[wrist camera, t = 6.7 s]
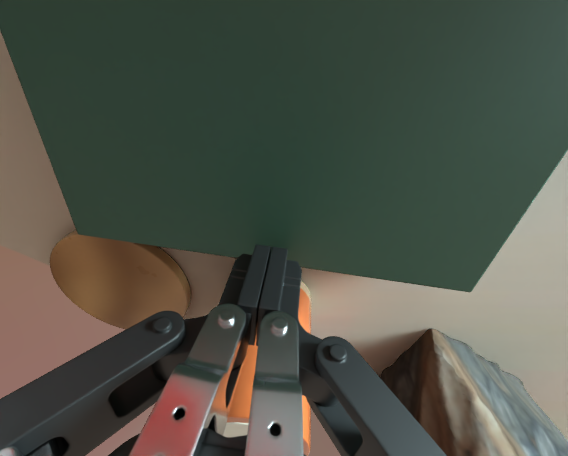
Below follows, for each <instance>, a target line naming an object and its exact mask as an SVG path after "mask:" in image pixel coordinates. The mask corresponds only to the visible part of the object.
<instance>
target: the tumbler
mask: <svg viewBox="0 0 568 456" xmlns="http://www.w3.org/2000/svg"><path fill="white" fill-rule="evenodd" d="M298 318H299V322H300V324H301V326H302V327H303V328H304V329H305V330H306V331H307V332H308V333H309V334H311V294H310V292H309V289H308V288H307V286H306V285H305V284H304V283H303V282H302V281H301V285H300V298H299V311H298ZM256 337H257V335H256ZM257 349H258V346H256V339H255V344H254V345H248V349H247V353H246V357H245V359H244V365H243V368H242V371H241V374H240V378H239V381H238V384H237V387H236V390H235V394H234V397H233V400H232V403H231V406H230V409H229V413H228V417H227V423H226V428H225V432H224V436H225V437H237V436H244V435H247V432H248V423H249V415H250V406H251V397H252V389H253V381H254V375H255V367H256V358H257ZM302 408H303V452H304V454H305V455H306V456H308V454H309V452H310V415H311V413H310V412H311V411H310V410H311V407H310V405H309V403H308V402H307V399H306V397H305V396H303V395H302Z"/></svg>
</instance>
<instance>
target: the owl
mask: <svg viewBox="0 0 568 456" xmlns="http://www.w3.org/2000/svg"><path fill="white" fill-rule="evenodd" d="M380 379H381V380H382V381H383V382H384V383H385V384H386V386H387V387H388V388H389V389H390V390H391V391H392V392H393V394H394V395H395V396H396V397H397V398H398V399H399V401H400V402H401V403H402V404H403V405H404V406H405V408H406V409H407V410H408V411H409V412H410V413H411V415H412V416H413V417H414V418H415V419H416V420H417V422H418V423H419V424H420V425H421V426H422V427H423V428H424V430H425V431H426V432H427V433H428V434H429V435H430V437H431V438H432V439H433V440H434V441H435V442H436V444H437V445H438V446H439V447H440V448H441V449H442V451H443V452H444V453H445V454H446V455H447V456H568V441H567V439H566V438H565V437H564V436H563V434H562V433H561V432H560V430H559V429H558V428H557V427H556V426H555V424H554V423H553V422H552V421H551V420H550V419H549V418H548V416H547V415H546V414H545V413H544V412H543V411H542V410H541V408H540V407H539V406H538V405H537V404H536V403H535V402H534V401H533V399H532V398H531V397H530V395H529V394H528V393H527V391H526V390H525V389H524V387H523V383H522V382H521V381H520V380H519V379H518V378H516V377H515V376H513V375H511V374H508V373H505V372H503V371H501V370H500V368H499V366H498V365H497V364H495V363H492V362H488V361H486V360H485V359H484V358H483V357H481V356H478V355H476V354H474V352H473V351H472V349H471V347H469V346H468V345H466V344H465V343H463V342H460V341H458V340H454V339H451V338H449V337H448V336H446V335H444V334H443V333H440V332H439V331H437V330H435V329H428V330H427V331H426V332H425V334H424V335H423V336H422V337H421V338H420V339H419V340H417V341H416V343H415V344H414V345H413V346H412V347H411V348H410V349H409V350H407V351H406V352H404V353H403V354H402V355H401V356H400V357H399V358H398V360H397V361H396V362H395V364H393V365H392V366H391V367H388V368H386V369H385V370H384V371H383V372H382V374H381V377H380Z"/></svg>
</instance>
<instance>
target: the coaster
mask: <svg viewBox="0 0 568 456" xmlns="http://www.w3.org/2000/svg"><path fill="white" fill-rule="evenodd" d="M50 268H51V271H52V274H53V277H54V279H55V281H56V283H57V284H58V286H59V287H60V289H61V290H62V291H63V292H64V294H65V295H66V296H67V297H68V298H69V299H70V300H71V301H72V302H73V303H75V304H76V305H77V306H78V307H79V308H81V309H82V310H84V311H85V312H87V313H88V314H90V315H92V316H93V317H96V318H97V319H99V320H101V321H103V322H106V323H108V324H110V325H113V326H116V327H119V328H123V329H128V328H130V327H132V326H133V325H135V324H137V323H139V322H141V321H142V320H144V319H146V318H148V317H150V316H152V315H153V314H155V313H158V312H161V311H175V312H177V313H179V314H180V315H181V316H182V317H183V316H184V315H185V313H186V311H187V309H188V307H189V304H190V299H191V293H190V287H189V284H188V281H187V278H186V277H185V275H184V273H183V271H182V270H181V269H180V267H179V266H178V265H177V264H176V262H175V261H174V260H173V259H172V258H171V257H170V256H169V255H167V254H166V253H165V252H164V251H163V250H161V249H160V248H159V247H157V246H152V245H146V244H139V243H132V242H125V241H118V240H112V239H105V238H98V237H91V236H84V235H79V234H78V233H77V230H75V231H73V232H71V233H69V234H68V235H67V236H65V237H64V238H63V239H62V240H60V241H59V242H58V243H57V244H56V245H55V247H54V248H53V250H52V253H51V256H50Z"/></svg>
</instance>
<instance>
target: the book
mask: <svg viewBox="0 0 568 456" xmlns="http://www.w3.org/2000/svg"><path fill="white" fill-rule="evenodd" d="M0 31H1V33H2V36H3V38H4V41H5V44H6V46H7V49H8V52H9V54H10V57H11V59H12V62H13V65H14V67H15V70H16V73H17V75H18V78H19V81H20V83H21V86H22V88H23V91H24V94H25V96H26V99H27V102H28V104H29V107H30V109H31V112H32V115H33V117H34V120H35V123H36V125H37V128H38V130H39V133H40V136H41V138H42V141H43V144H44V146H45V149H46V151H47V154H48V157H49V159H50V162H51V165H52V167H53V170H54V173H55V175H56V178H57V180H58V183H59V186H60V188H61V191H62V194H63V196H64V199H65V201H66V204H67V207H68V209H69V212H70V215H71V217H72V220H73V222H74V225H75V228H76V230H77V233H78V234H79V235H84V236H91V237H98V238H105V239H112V240H118V241H125V242H132V243H139V244H146V245H152V246H159V247H166V248H173V249H180V250H186V251H193V252H200V253H207V254H214V255H220V256H227V257H234V258H238V257H240V256H241V255H242V254H249V255H252V254H253V251H254V248H255V245H256V244H258V245H265V246H271V251H272V247H279V248H286V249H288V252H287V259H286V260H291V261H298V263H299V265H300V267H302V268H309V269H316V270H322V271H329V272H336V273H343V274H349V275H356V276H363V277H370V278H377V279H383V280H390V281H397V282H404V283H411V284H417V285H424V286H431V287H438V288H445V289H451V290H458V291H465V292H471V291H472V290H473V288H474V287H475V286H476V284H477V283H478V281H479V280H480V278H481V277H482V275H483V274H484V272H485V271H486V269H487V268H488V266H489V265H490V264H491V262H492V261H493V259H494V258H495V256H496V255H497V253H498V252H499V250H500V249H501V247H502V246H503V244H504V243H505V242H506V240H507V239H508V237H509V236H510V234H511V233H512V231H513V230H514V228H515V227H516V225H517V224H518V222H519V221H520V219H521V218H522V217H523V215H524V214H525V212H526V211H527V209H528V208H529V206H530V205H531V203H532V202H533V200H534V199H535V197H536V196H537V195H538V193H539V192H540V190H541V189H542V187H543V186H544V184H545V183H546V181H547V180H548V178H549V177H550V175H551V174H552V173H553V171H554V170H555V168H556V167H557V165H558V164H559V162H560V161H561V159H562V158H563V156H564V155H565V153H566V152H567V151H568V0H0Z"/></svg>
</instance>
